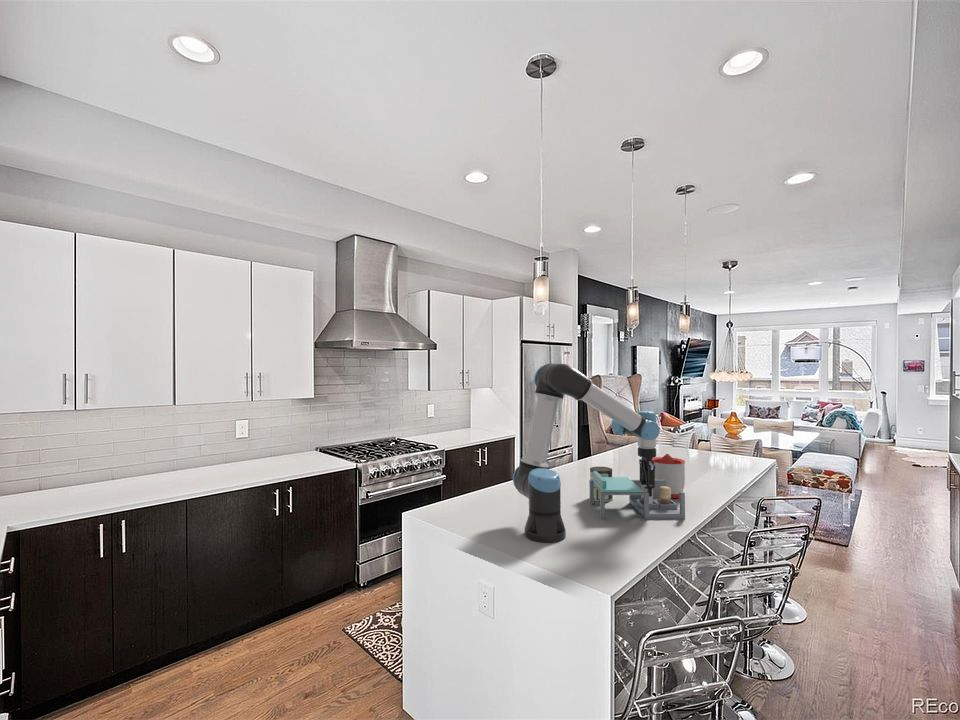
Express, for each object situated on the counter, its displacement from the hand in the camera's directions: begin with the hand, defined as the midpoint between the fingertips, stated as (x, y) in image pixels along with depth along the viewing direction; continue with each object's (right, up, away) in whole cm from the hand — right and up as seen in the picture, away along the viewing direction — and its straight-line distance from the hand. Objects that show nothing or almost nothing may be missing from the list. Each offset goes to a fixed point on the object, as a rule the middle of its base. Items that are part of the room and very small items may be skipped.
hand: (646, 501), depth 201 cm
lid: (-13, +7, +1) cm, 15 cm away
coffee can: (-15, -5, +19) cm, 25 cm away
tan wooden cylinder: (+8, -2, 0) cm, 8 cm away
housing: (-5, -4, +1) cm, 6 cm away
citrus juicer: (+18, -4, +24) cm, 30 cm away
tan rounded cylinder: (0, -2, 0) cm, 2 cm away
